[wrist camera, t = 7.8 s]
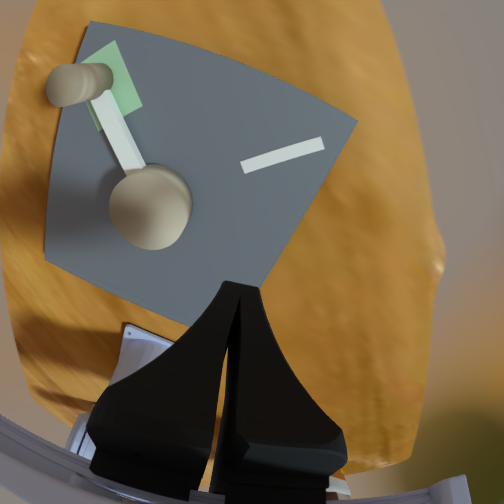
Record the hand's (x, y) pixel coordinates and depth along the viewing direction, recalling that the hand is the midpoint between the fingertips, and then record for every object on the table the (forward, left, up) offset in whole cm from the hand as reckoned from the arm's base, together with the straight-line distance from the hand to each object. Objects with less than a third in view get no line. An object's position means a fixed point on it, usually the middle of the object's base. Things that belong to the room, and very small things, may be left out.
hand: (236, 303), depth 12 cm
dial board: (-2, +6, -10) cm, 12 cm away
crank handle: (+1, +9, -9) cm, 12 cm away
